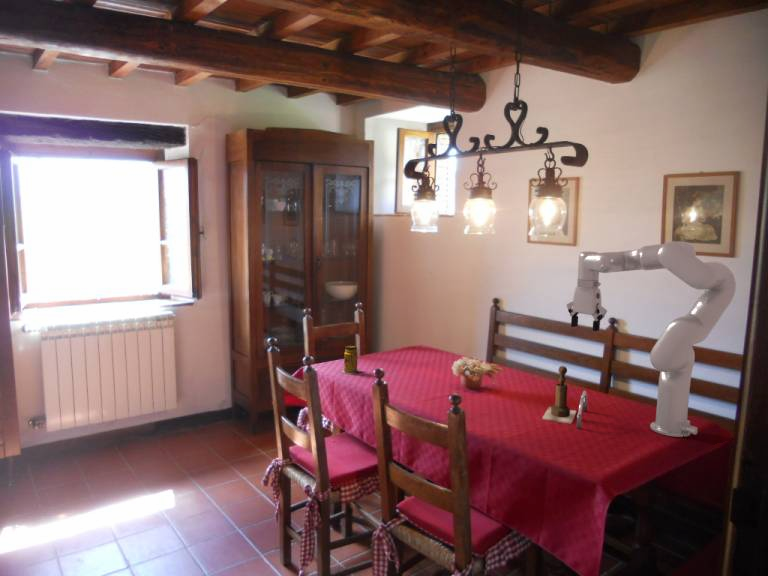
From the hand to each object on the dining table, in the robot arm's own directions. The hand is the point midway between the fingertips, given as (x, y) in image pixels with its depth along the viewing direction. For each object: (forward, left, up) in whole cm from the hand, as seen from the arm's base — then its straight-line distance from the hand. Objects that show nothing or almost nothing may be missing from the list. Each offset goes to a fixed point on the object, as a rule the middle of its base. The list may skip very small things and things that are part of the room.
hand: (584, 328), depth 221 cm
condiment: (+86, +52, -31) cm, 105 cm away
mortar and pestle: (-4, +17, -30) cm, 35 cm away
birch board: (-4, +17, -30) cm, 35 cm away
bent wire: (-11, +13, -30) cm, 35 cm away
